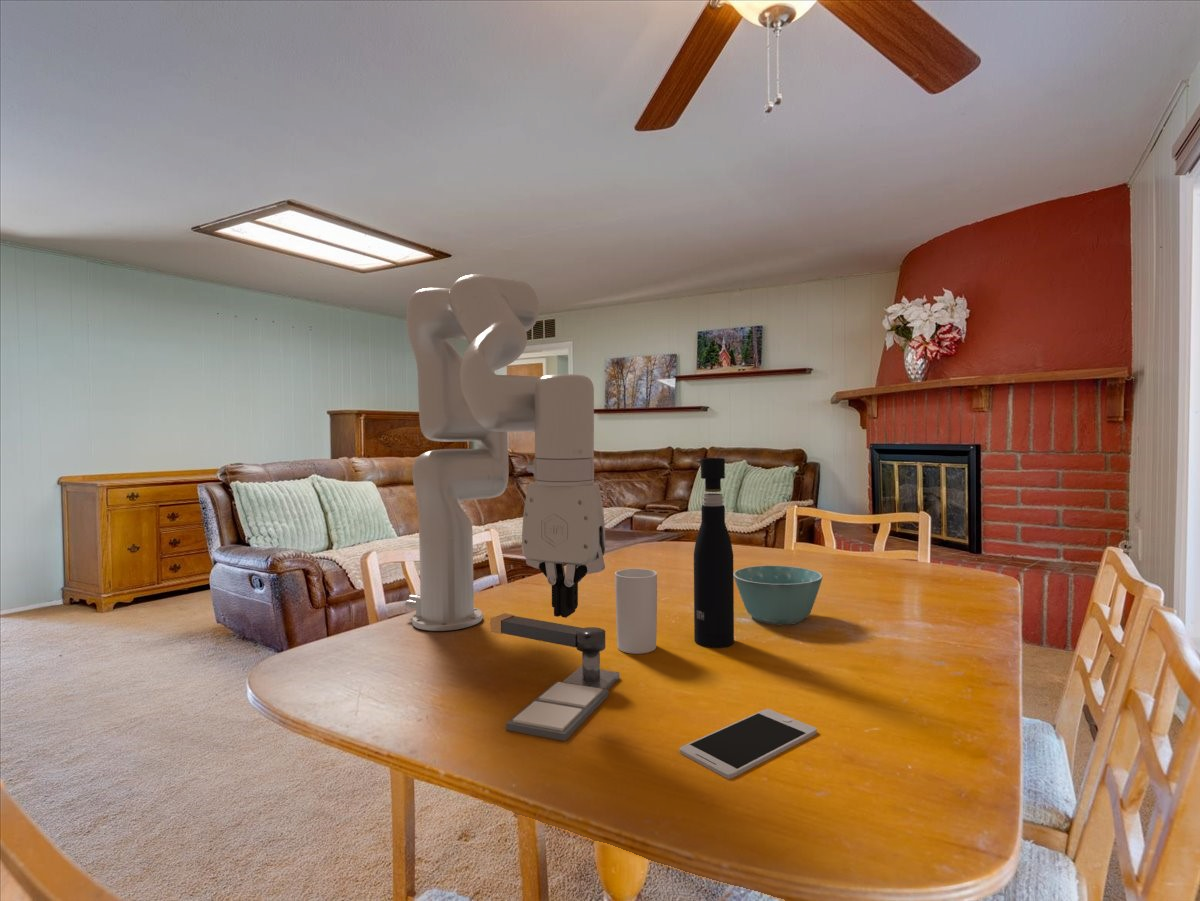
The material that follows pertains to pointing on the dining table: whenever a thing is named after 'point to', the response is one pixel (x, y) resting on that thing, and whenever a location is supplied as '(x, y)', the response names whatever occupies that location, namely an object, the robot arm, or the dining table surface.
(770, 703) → the dining table surface
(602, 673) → the pivot post base
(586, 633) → the swing arm
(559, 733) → the label tile
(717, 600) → the black bottle
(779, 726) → the smartphone
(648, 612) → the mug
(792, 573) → the bowl
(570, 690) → the label tile
